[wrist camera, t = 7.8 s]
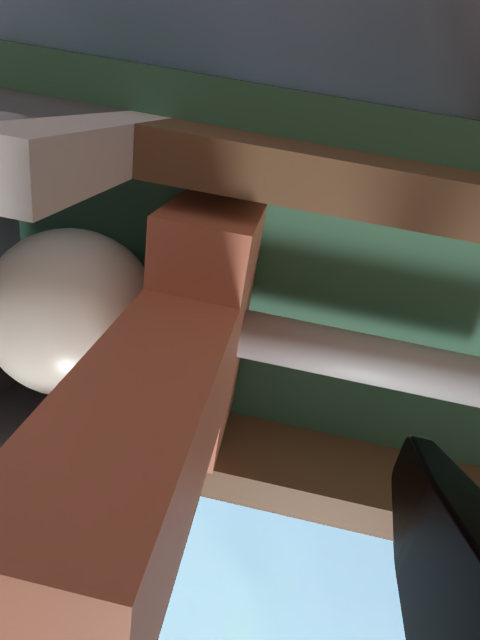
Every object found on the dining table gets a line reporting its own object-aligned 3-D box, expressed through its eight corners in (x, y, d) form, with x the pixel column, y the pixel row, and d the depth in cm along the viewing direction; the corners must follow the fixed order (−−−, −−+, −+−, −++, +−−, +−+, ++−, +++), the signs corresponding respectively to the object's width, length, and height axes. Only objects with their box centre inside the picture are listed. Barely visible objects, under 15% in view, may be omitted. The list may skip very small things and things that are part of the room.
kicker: (520, 249, 11) (1116, 702, 3) (432, 444, 13) (603, 956, 5) (187, 187, 11) (-130, 413, 3) (168, 387, 14) (-31, 777, 6)
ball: (-64, 215, 10) (100, 201, 13) (-41, 370, 12) (98, 328, 14) (28, 282, 8) (200, 248, 10) (39, 460, 9) (184, 390, 12)
